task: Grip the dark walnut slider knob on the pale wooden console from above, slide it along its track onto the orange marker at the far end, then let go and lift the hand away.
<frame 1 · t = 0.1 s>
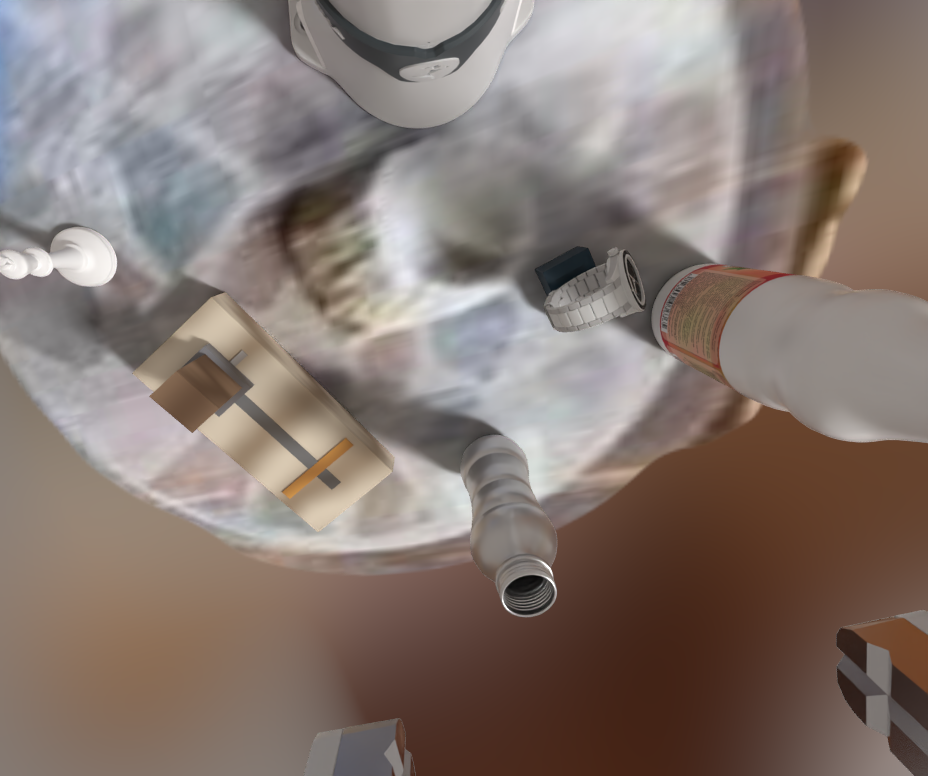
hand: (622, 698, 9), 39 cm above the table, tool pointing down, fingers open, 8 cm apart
chess piece: (88, 256, 42), on the table
fruit juice: (694, 311, 47), on the table
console: (278, 413, 47), on the table
slider: (201, 389, 40), point 6 cm above the table, slide at -6.0 cm
plastic bottle: (490, 455, 51), on the table
watch: (568, 283, 46), on the table
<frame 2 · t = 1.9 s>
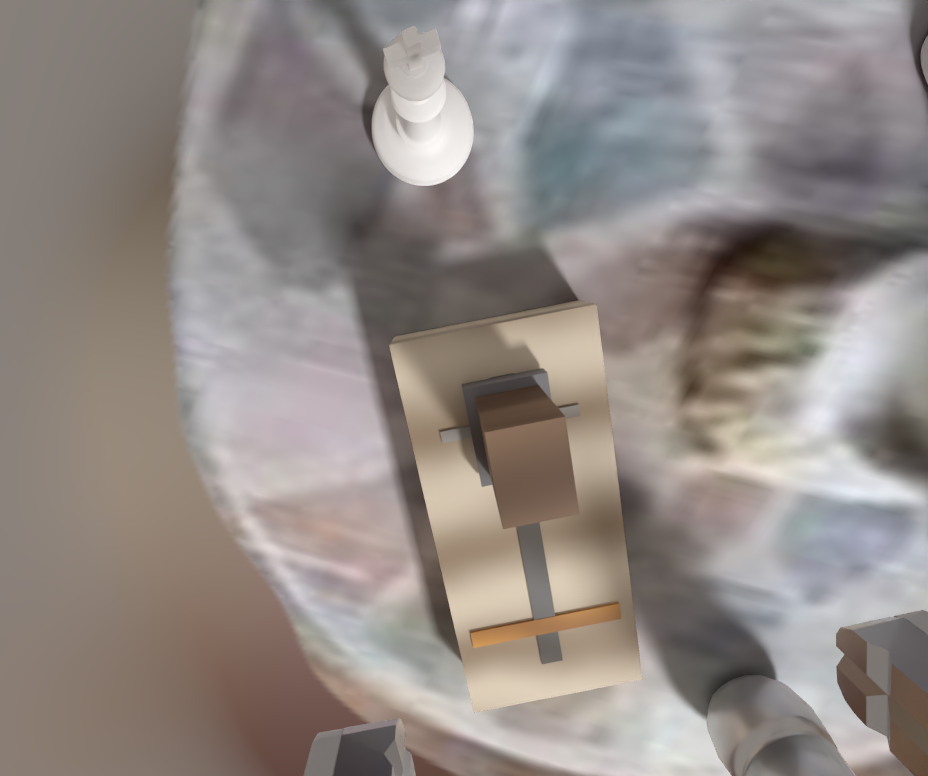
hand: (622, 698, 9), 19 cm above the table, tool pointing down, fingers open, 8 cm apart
chess piece: (423, 132, 24), on the table
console: (519, 503, 29), on the table
slider: (520, 446, 21), point 6 cm above the table, slide at -6.0 cm
plastic bottle: (739, 697, 33), on the table
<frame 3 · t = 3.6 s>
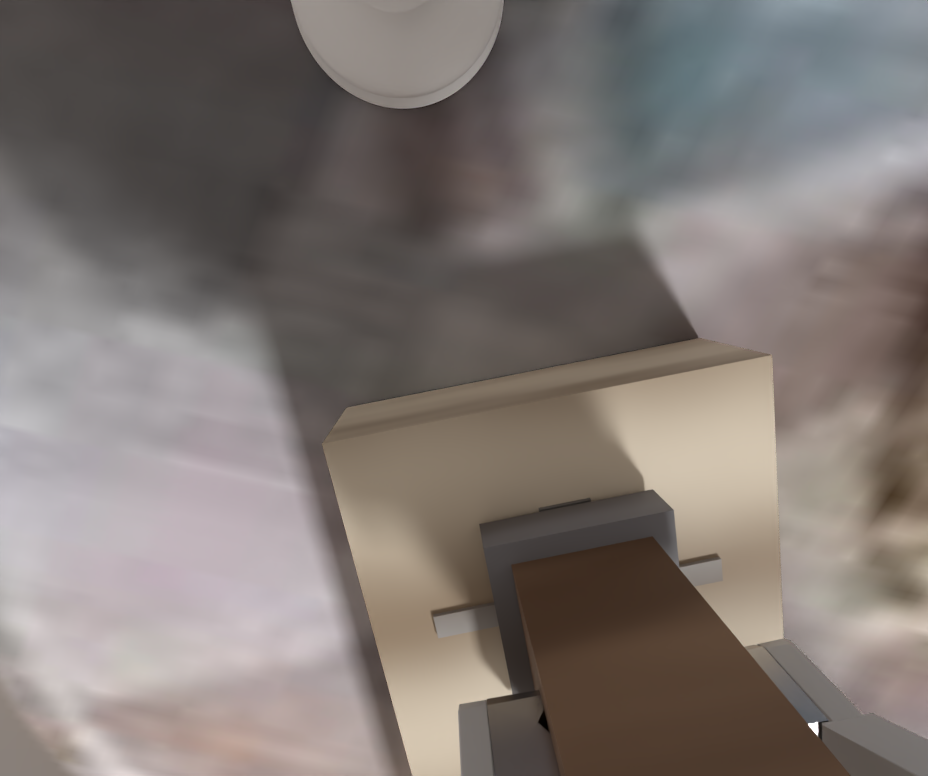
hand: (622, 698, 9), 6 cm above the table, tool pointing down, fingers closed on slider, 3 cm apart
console: (576, 693, 16), on the table
slider: (629, 711, 9), point 6 cm above the table, slide at -6.0 cm, touching gripper
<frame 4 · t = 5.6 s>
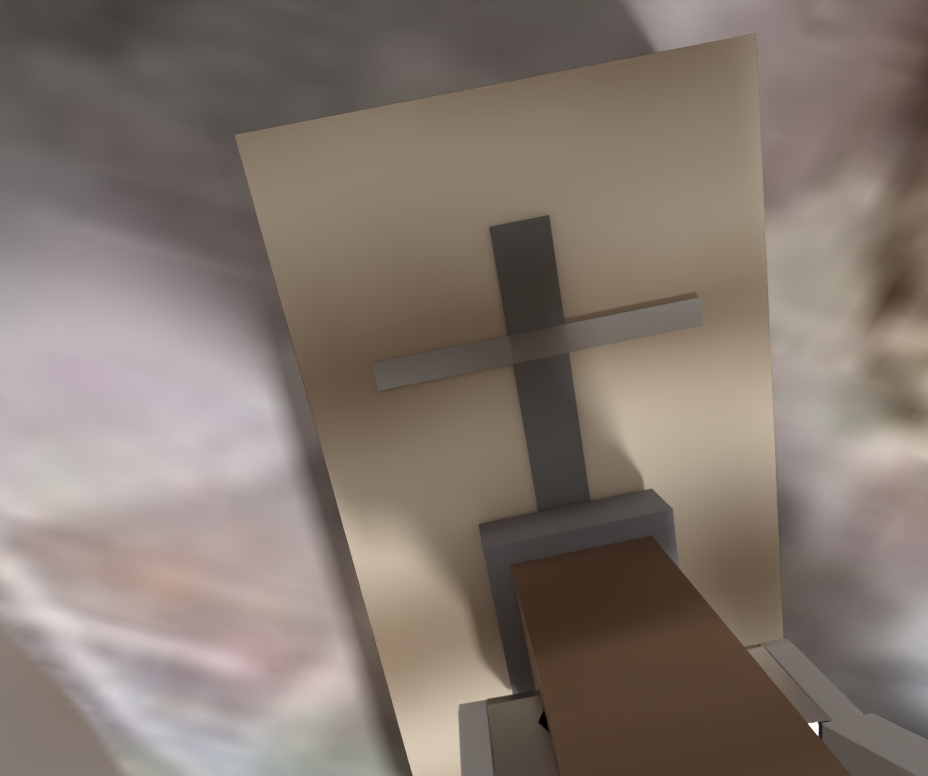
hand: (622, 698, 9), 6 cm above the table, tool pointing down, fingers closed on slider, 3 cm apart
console: (548, 524, 15), on the table
slider: (629, 710, 9), point 6 cm above the table, slide at 0.2 cm, touching gripper
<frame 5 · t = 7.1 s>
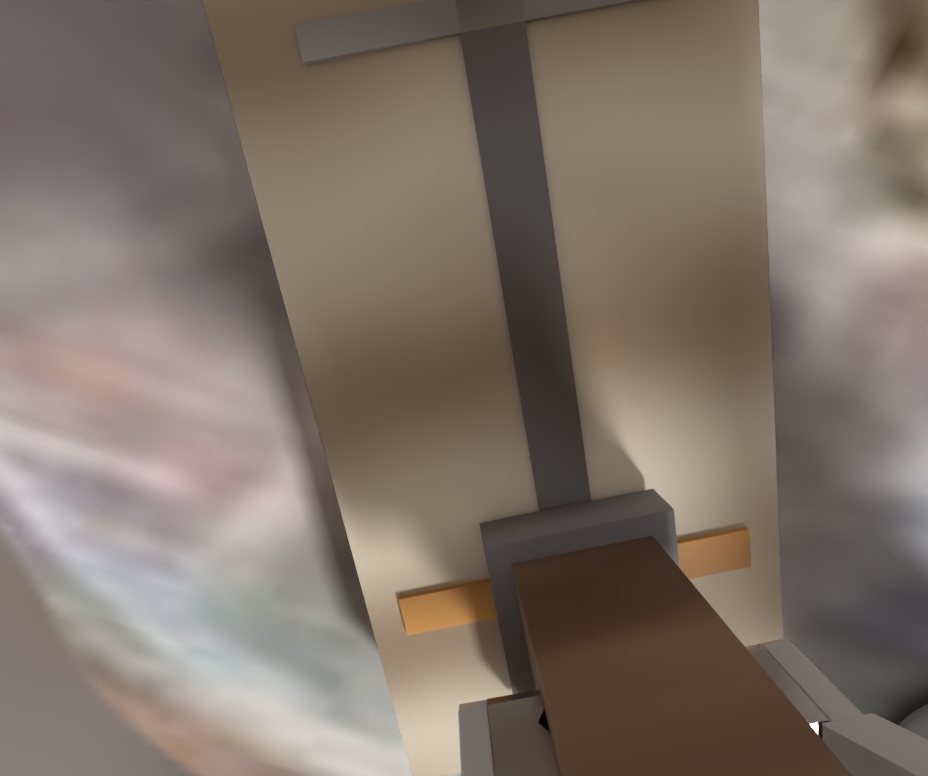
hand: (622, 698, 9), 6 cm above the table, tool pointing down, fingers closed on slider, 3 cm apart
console: (515, 320, 13), on the table
slider: (629, 710, 9), point 6 cm above the table, slide at 6.4 cm, touching gripper
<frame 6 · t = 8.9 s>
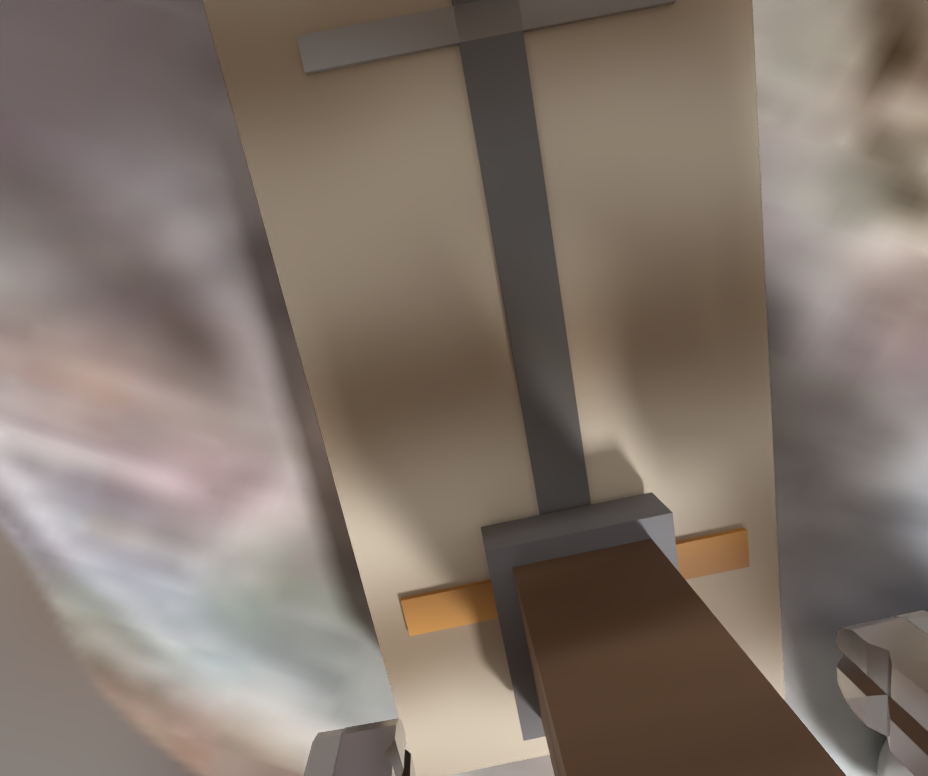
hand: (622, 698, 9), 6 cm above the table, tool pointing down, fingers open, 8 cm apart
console: (515, 324, 13), on the table
slider: (629, 711, 9), point 6 cm above the table, slide at 6.5 cm
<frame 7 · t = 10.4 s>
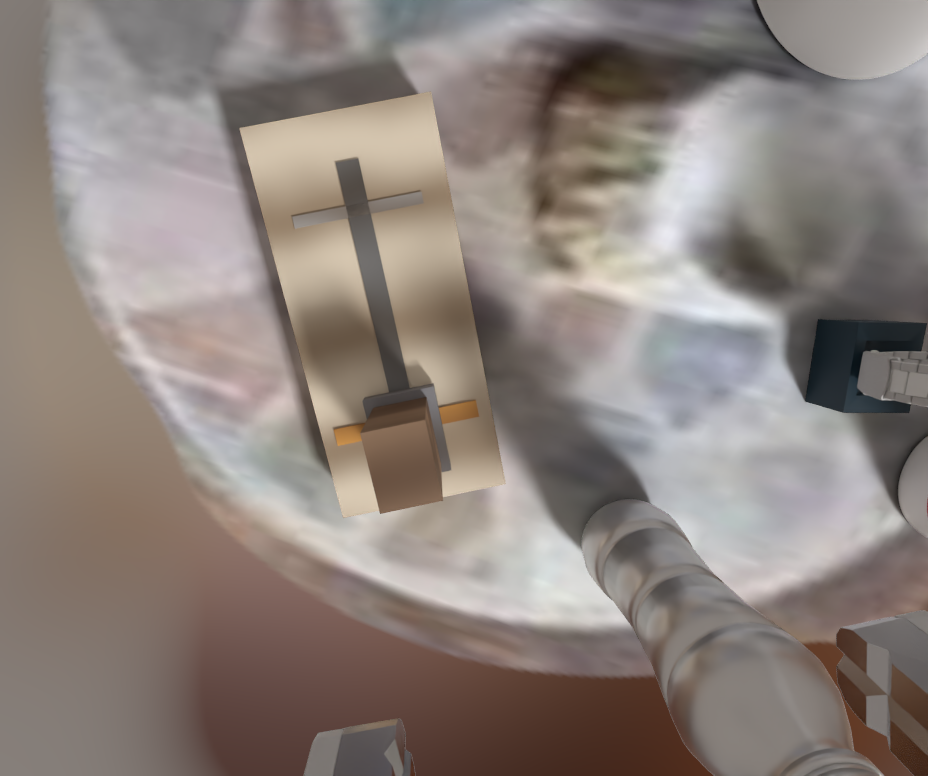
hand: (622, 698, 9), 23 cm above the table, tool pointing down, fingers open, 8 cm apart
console: (388, 318, 30), on the table
slider: (405, 447, 25), point 6 cm above the table, slide at 6.5 cm
plastic bottle: (618, 530, 34), on the table
watch: (841, 360, 33), on the table
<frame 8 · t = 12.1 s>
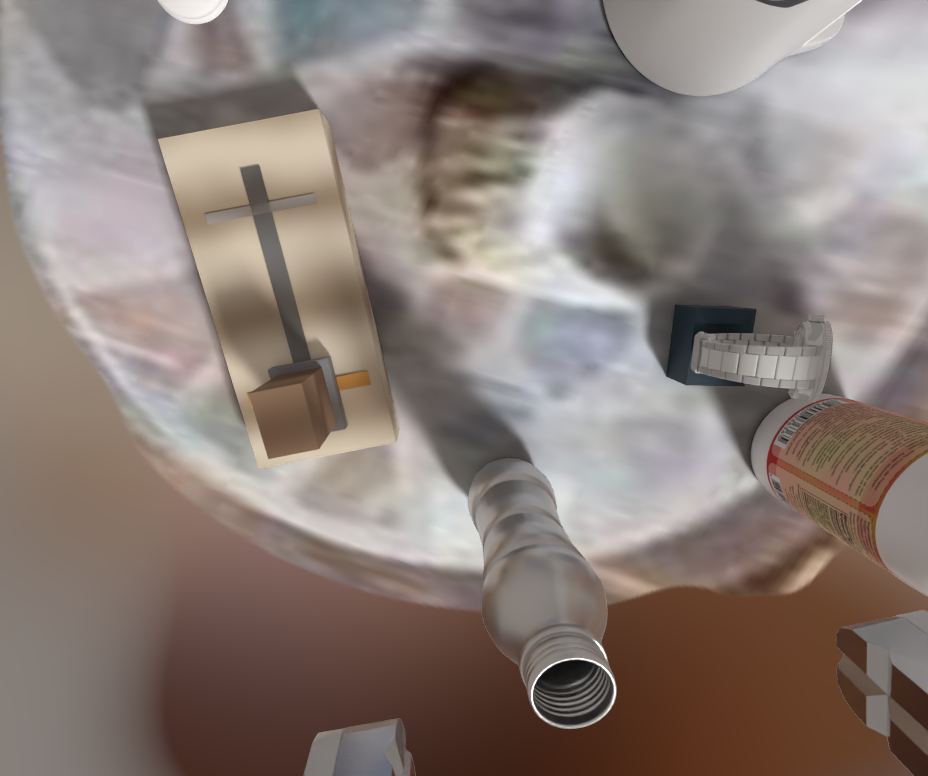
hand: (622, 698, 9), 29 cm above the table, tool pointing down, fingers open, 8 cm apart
fruit juice: (800, 445, 40), on the table
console: (299, 300, 35), on the table
slider: (298, 407, 31), point 6 cm above the table, slide at 6.5 cm
plastic bottle: (506, 486, 40), on the table
watch: (697, 341, 38), on the table
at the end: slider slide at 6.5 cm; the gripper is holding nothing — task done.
